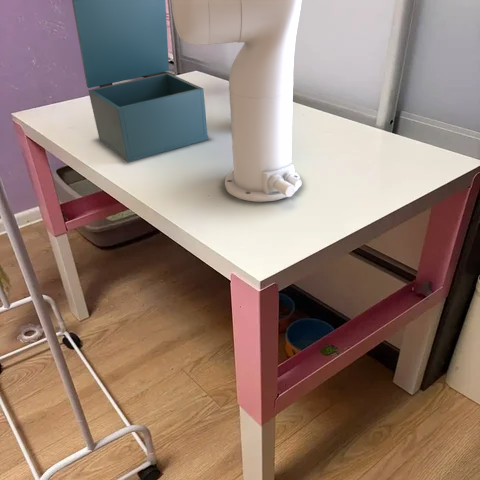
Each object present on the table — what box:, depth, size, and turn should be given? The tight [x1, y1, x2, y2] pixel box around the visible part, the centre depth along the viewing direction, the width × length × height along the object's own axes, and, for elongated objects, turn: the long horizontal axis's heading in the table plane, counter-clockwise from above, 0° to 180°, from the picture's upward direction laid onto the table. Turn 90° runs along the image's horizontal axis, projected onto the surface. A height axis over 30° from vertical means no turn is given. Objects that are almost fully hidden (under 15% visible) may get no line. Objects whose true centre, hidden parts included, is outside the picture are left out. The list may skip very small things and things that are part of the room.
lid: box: [71, 0, 170, 89], centre depth 98 cm, size 15×18×5 cm
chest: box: [88, 72, 209, 163], centre depth 101 cm, size 15×18×10 cm
